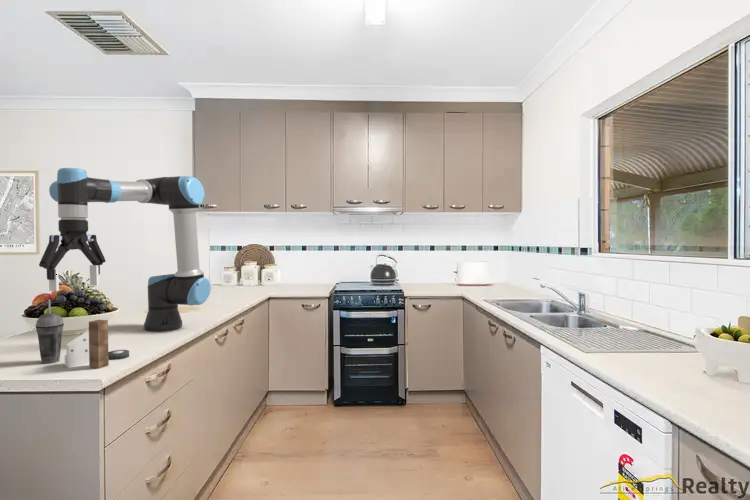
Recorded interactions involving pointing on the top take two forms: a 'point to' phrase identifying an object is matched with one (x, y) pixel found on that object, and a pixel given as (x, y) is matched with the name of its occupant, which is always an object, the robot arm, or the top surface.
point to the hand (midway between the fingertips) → (75, 288)
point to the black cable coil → (118, 354)
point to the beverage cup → (49, 336)
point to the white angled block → (78, 351)
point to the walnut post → (98, 344)
